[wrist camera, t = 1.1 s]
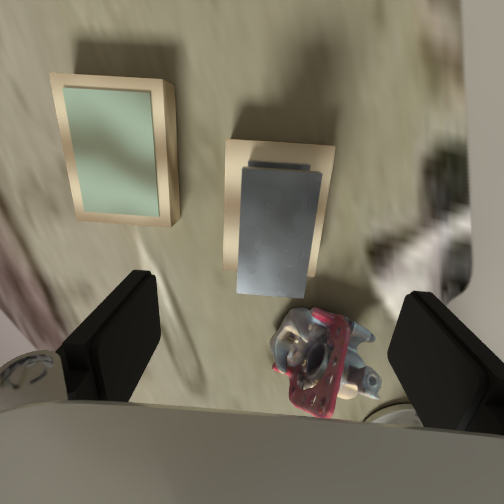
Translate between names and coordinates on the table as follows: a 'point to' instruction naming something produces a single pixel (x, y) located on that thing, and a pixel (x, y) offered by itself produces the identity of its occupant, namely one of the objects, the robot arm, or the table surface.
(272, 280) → the block
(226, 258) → the stand
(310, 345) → the motor mount assembly
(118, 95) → the stand
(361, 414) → the table surface
